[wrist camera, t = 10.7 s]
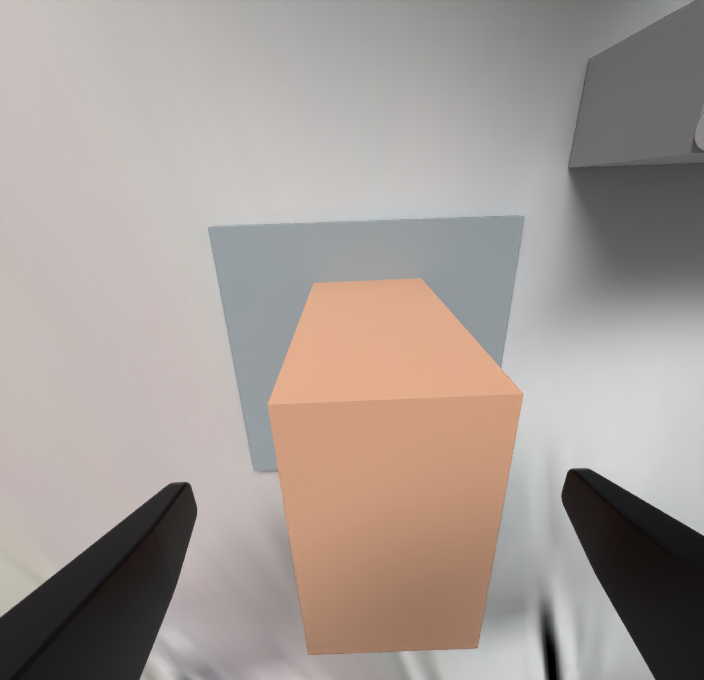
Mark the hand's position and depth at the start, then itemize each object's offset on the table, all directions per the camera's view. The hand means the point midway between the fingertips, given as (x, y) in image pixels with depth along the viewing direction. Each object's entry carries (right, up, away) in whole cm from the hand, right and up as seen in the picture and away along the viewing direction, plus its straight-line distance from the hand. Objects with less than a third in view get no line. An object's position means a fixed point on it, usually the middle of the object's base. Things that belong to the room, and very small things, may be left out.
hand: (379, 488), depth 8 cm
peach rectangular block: (0, +3, +6) cm, 6 cm away
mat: (0, +3, +6) cm, 7 cm away
